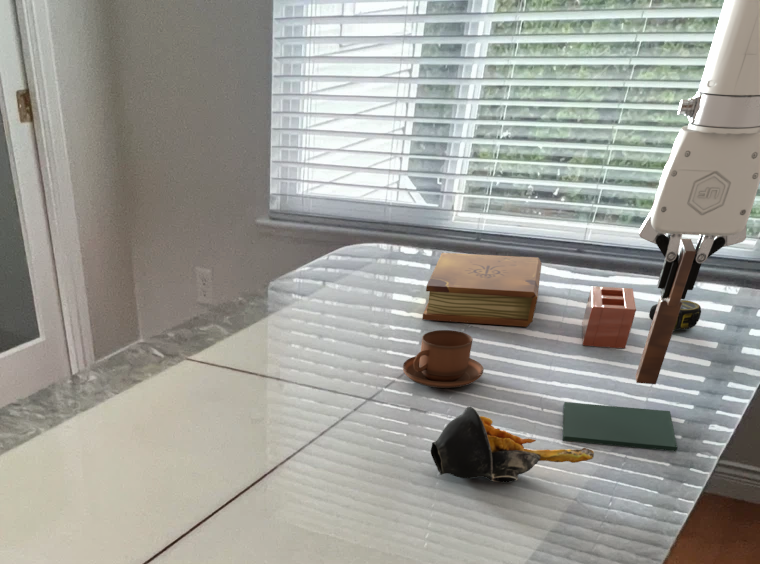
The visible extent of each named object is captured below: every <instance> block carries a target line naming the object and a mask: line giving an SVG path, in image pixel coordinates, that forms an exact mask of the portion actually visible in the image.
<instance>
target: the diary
mask: <svg viewBox="0 0 760 564" xmlns="http://www.w3.org/2000/svg"><path fill="white" fill-rule="evenodd" d="M541 272H542V261H541V259H540V258H539V257H533V256H517V255H495V254H494V255H493V254H474V253H456V252H455V253H454V252H441V253H440V256H439V258H438V260H437V262H436V264H435V266H434V269H433V271H432V273H431V275H430V278H429V280H428V282H427V284H426V288H425V292H429V295H428V300H427V301H428V302H427V304H426V306H425V309H424V310H423V313H422V320H423V321H439V322H450V323H451V322H452V323H465V324H466V323H467V324H480V325H481V324H483V325H495V326H496V325H498V326H509V327H526V328H527V327H528V326H529V325H530V324H531V323H533V321H534V315H535V313H536V307H537V303H538V299H539V298H538V297H539V288H540V280H541Z"/></svg>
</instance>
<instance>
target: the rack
mask: <svg viewBox="0 0 760 564" xmlns="http://www.w3.org/2000/svg"><path fill="white" fill-rule="evenodd" d="M636 312H637V306H636V299H635V294H634V289H633V288H631V287H630V288H628V287H615V286H614V287H613V286H612V287H611V286H595V285H592V286H590V290H589V293H588V298H587V302H586V306H585V310H584V314H583V319H582V322H581V332H582V333H581V335H582V336H581V337H582V341H581V342H582V346H585V347H597V348H598V347H599V348H612V349H613V348H614V349H624V350H625V349H626V347H627V343H628V340H629V336H630V333H631V329H632V326H633V322H634V319H635V316H636Z"/></svg>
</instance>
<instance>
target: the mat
mask: <svg viewBox="0 0 760 564" xmlns="http://www.w3.org/2000/svg"><path fill="white" fill-rule="evenodd" d="M562 415H563V416H562V441H565V442H575V443H586V444H598V445H606V446H614V447H615V446H616V447H617V446H618V447H625V448H627V447H628V448H635V449H636V448H637V449H646V450H656V451H657V450H658V451H667V452H669V451H670V452H677V450H678V444H677V438H676V434H675V429H674V425H673V424H674V423H673V419H672V414H671V411H670V410H662V409H650V408H639V407H636V408H635V407H626V406H617V405H616V406H615V405H605V404H603V405H602V404H591V403H581V402H571V401H564V403H563V413H562Z"/></svg>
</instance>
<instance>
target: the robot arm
mask: <svg viewBox="0 0 760 564" xmlns="http://www.w3.org/2000/svg"><path fill="white" fill-rule="evenodd" d="M677 110H678V111H677V115H678V116H679V115H683V116H684V117H687V119H688V121H689V122H688V125H684V126H681V128H680V129H679V132H678V134H677V136H676V138H675V141H674V143H673V145H672V147H671V150H670V153H669V155H668V158H667V160H666V163H665V165H664V168H663V171H662V174H661V177H660V180H659V183H658V186H657V188H656V192H655V195H654V198H653V201H652V205H651V208H650V212H649V213H648V215H647V217H646V218H645V220H644V221H643V223H642V225H641V226H640V228H639V230H638V235H639V238H641V239H642V240H644V241H647V242H650V243H652V244H654V245H656V246H657V247H658V249H659V251H660V252H661V254H662V255H663V257H664V261H663V264H662V268H661V271H660V274H659V277H658V281H657V285H656V288H657V289H660V296H662V298H667V297H669V294H670V291H671V287H672V284H673V281H674V278H675V275H676V271H677V268H678V265H679V263H678V257H679V255H678V250H679V246H680V242H681V239H683V235H687V236H688V235H692V236H694V235H695V236H699V237H698V239H697V242H696V245H695V246H694V248H695V251H696V254H695V257H694V260H693V263H692V266H691V269H690V272H689V275H688V278H687V281H686V285H685V288H684V291H683V294H682V297H681V300H686V297H687V294H688V291H693V290H694V287H695V285H696V283H697V282H696V281H697V279H698V275H699V273H700V269H701V266H702V264H703V263H705V262H706V261H707V259H708V258H709V257H711V256H712V255H714V254H715V253H717V252H718V251H720V250H721V249H723V248H724V247H729V246H733V245H737V244H740V243H743V242H745V240H746V239H747V223H748V221H749V219H750V215H751V213H752V209H753V207H754V204H755V203H754V202H755V200H756V196H757V194H758V189H759V186H760V0H724V1H723V4H722V8H721V11H720V15H719V19H718V23H717V26H716V28H715V32H714V36H713V39H712V43H711V45H710V50H709V53H708V55H707V60H706V63H705V67H704V70H703V74H702V77H701V81H700V84H699V88H698V90H697V91H696V94H695V95H693V97H690V98H688V99H681V100H680V102H679V106H678V109H677Z"/></svg>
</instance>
